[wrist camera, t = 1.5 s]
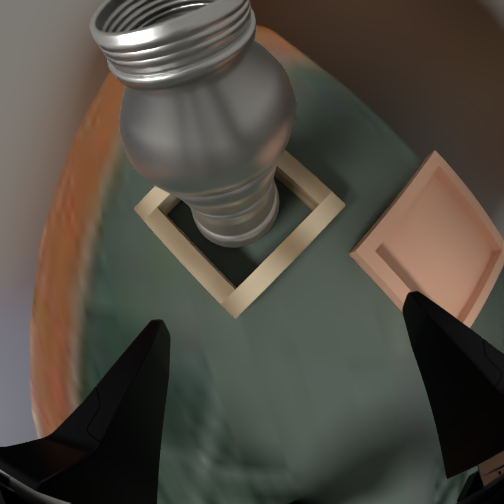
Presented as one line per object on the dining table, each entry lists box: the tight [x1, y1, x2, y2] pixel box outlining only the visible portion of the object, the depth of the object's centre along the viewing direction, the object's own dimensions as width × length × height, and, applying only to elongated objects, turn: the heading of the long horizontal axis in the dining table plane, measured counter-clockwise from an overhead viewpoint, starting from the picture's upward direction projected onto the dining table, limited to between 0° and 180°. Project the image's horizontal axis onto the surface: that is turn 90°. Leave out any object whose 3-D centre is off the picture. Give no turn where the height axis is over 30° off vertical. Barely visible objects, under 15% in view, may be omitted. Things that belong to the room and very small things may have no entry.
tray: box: [348, 151, 504, 328], centre depth 21 cm, size 14×14×2 cm
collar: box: [134, 150, 346, 319], centre depth 22 cm, size 12×12×2 cm
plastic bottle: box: [89, 0, 297, 248], centre depth 14 cm, size 6×7×20 cm
